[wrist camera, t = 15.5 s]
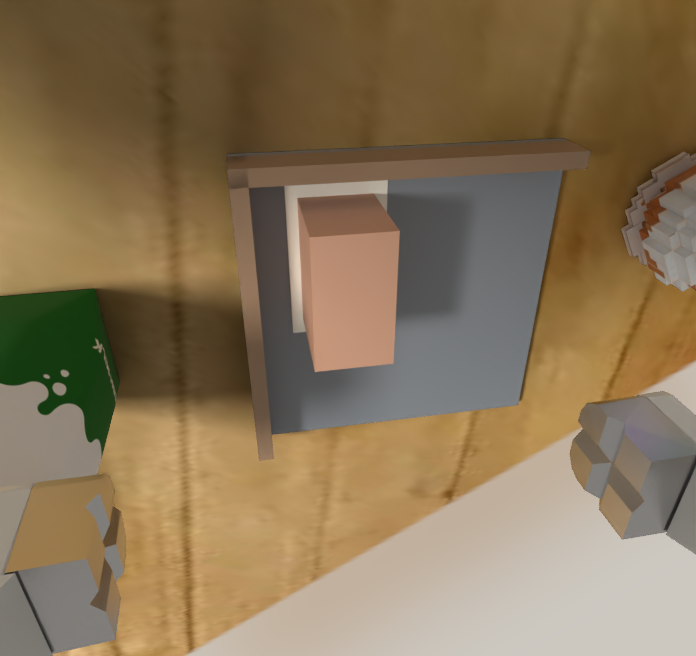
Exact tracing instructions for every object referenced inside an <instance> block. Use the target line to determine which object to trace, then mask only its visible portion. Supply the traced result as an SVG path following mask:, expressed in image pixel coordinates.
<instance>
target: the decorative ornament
mask: <svg viewBox="0 0 696 656" xmlns="http://www.w3.org/2000/svg"><path fill="white" fill-rule="evenodd" d="M651 173H652V177H653V178H652V179H650V180H648V181H647V182H645V183H643V184H642V185H640V186H638V187H637V190H638V194H639V195H637V196H635V197H633V198H632V199H631V202H632V205H633V206H632V207H630V208H628V209H627V210H625V213H626V216H627V219H628V223H629V224H628V225H626V226H624V227H623V228H621V230H622V233H623V236H624V240H625V243H626V246H627V250H628V253H629V255H631V256H632V257H635V256H637V255H638V257H639V261H640V263H642V264H643V265H647V264H648V267H649V268H650V269H651V270H653V271H654V273H655V276H656V278H657V279H658V280H660V281H661V282H662V283H664V284H665V285H669V284H672V285H674V286H675V287H677V288H678V289H679V290H681V291H682V292H683V291H685V290H687V289H688V288H690V287H691V288H693V289H694V290H696V153H695V154H693V155H692V156H690V154H689V153H686V152H682V153H681V154H679V155H677V156H675V157H674V158H672V159H670V160H668V161H667V162H665V163H663V164H662V165H660V166H658V167H656V168H655V169H653V170H651Z"/></svg>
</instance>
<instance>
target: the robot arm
mask: <svg viewBox="0 0 696 656" xmlns="http://www.w3.org/2000/svg"><path fill="white" fill-rule="evenodd" d="M578 421H579V423H580V425H581V426H582V428H583V430H582V431H581V432H580V433H579V434H578V435H577V436H576V437H575V438H574V439H573V442H572V446H571V450H570V458H571V465H572V470H573V472H574V474H575V476H576V478H577V480H578V482H579V483H580V484H581V486H582V487H583V489H584V490H585V491H587V492H589V493H591V494H593V495H594V496H596V497H598V498H600V503H599V510H600V511H601V513H602V514H603V515H604V516H605V518H606V519H607V520H608V522H609V523H610V524H611V526H612V527H613V528H614V529H615V531H616V532H617V534H618V535H619V536H620V537H621V539H628V538H634V537H640V536H646V535H651V534H657V533H664V532H667V533H666V535H667V536H669V537H670V538H672V539H674V540H675V541H676V542H678V543H679V544H681V545H683V546H684V547H685V548H687V549H689V550H690V551H692V552H693V553H695V554H696V415H695V414H693V413H692V412H691V411H690V410H689V409H688V408H687V407H686V406H684V405H683V404H682V403H681V402H680V401H679V400H678V399H676V398H675V397H674V396H673V395H671V394H669V393H667V392H664V391H660V392H654V393H648V394H641V395H637V396H630V397H624V398H617V399H611V400H605V401H598V402H592V403H587V404H586V405H585V406H584V407H583V409H582V410H581V413H580V416H579V420H578ZM114 493H115V490H114V487H113V484H112V481H111V478H110V476H109V475H107V474H99V475H91V476H83V477H74V478H66V479H58V480H50V481H42V482H37V483H33V484H24V485H15V486H7V487H1V488H0V656H53V655H52V654H54V653H59V652H63V651H67V650H72V649H76V648H81V647H85V646H90V645H94V644H99V643H103V642H107V641H112V640H115V638H116V631H117V623H118V616H119V608H120V600H121V597H120V594H119V591H118V587H117V584H116V581H117V580H118V579H119V577H120V576H121V575H122V574H123V573H124V568H125V559H126V536H125V529H124V522H123V518H122V515H121V511H119V510H118V509H116V508H115V507H113V499H114Z"/></svg>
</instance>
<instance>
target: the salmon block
mask: <svg viewBox="0 0 696 656" xmlns="http://www.w3.org/2000/svg"><path fill="white" fill-rule="evenodd" d="M297 206H298V226H299V246H300V267H301V287H302V307H303V320H304V325H305V329H306V334H307V338H308V343H309V347H310V352H311V356H312V361H313V365H314V370H315V372H319V371H329V370H338V369H348V368H357V367H367V366H376V365H386V364H394V343H395V322H396V300H397V279H398V258H399V236H400V231H399V229H398V228H397V226H396V225H395V223H394V222H393V221H392V219H391V218H390V216H389V215H388V213H387V212H386V210H385V209H384V207H383V206H382V204H381V203H380V201H379V200H378V199H377V197H376V196H375V194H374V193H371V194H354V195H337V196H321V197H304V198H297Z"/></svg>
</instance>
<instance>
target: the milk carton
mask: <svg viewBox="0 0 696 656" xmlns="http://www.w3.org/2000/svg"><path fill="white" fill-rule="evenodd" d="M118 387H119V378H118V374H117V370H116V366H115V363H114V359H113V355H112V351H111V347H110V344H109V340H108V336H107V332H106V328H105V325H104V321H103V317H102V313H101V309H100V306H99V302H98V298H97V294H96V291H95V289H86V290H74V291H62V292H50V293H38V294H25V295H13V296H1V297H0V488H1V487H7V486H15V485H24V484H33V483H37V482H42V481H50V480H58V479H66V478H74V477H83V476H91V475H97V474H98V470H99V466H100V462H101V458H102V454H103V450H104V447H105V443H106V439H107V435H108V431H109V427H110V423H111V420H112V416H113V412H114V408H115V404H116V399H117V393H118Z"/></svg>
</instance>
